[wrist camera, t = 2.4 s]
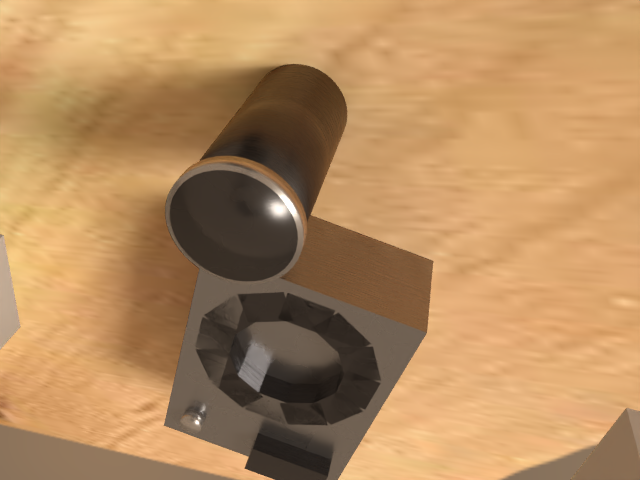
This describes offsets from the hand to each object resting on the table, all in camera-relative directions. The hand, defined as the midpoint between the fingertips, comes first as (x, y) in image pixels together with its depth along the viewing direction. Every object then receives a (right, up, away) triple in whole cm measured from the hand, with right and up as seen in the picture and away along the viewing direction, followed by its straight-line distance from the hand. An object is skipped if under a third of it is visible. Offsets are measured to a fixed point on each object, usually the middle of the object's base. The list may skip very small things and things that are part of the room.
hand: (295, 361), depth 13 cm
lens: (0, +9, +18) cm, 21 cm away
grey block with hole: (-1, -2, +27) cm, 27 cm away
